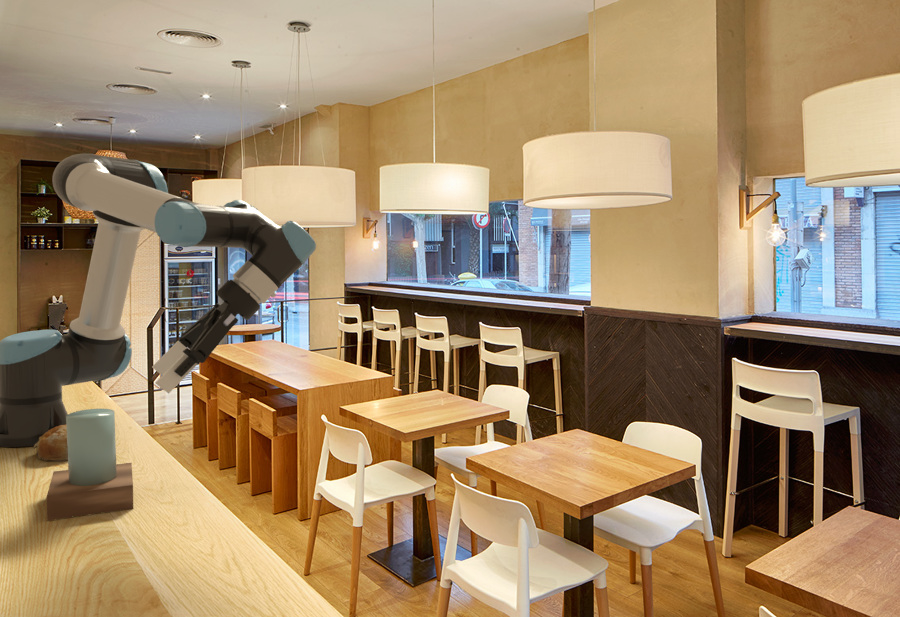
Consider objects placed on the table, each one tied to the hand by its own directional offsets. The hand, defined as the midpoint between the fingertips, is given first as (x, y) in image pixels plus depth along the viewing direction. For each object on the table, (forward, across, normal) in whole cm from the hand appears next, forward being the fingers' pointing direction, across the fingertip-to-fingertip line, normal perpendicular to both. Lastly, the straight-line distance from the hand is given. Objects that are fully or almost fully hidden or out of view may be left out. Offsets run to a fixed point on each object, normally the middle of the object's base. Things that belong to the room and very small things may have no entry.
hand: (159, 379), depth 110 cm
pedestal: (+22, -1, -6) cm, 23 cm away
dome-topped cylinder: (+19, -1, -3) cm, 19 cm away
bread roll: (+27, +28, -2) cm, 39 cm away
